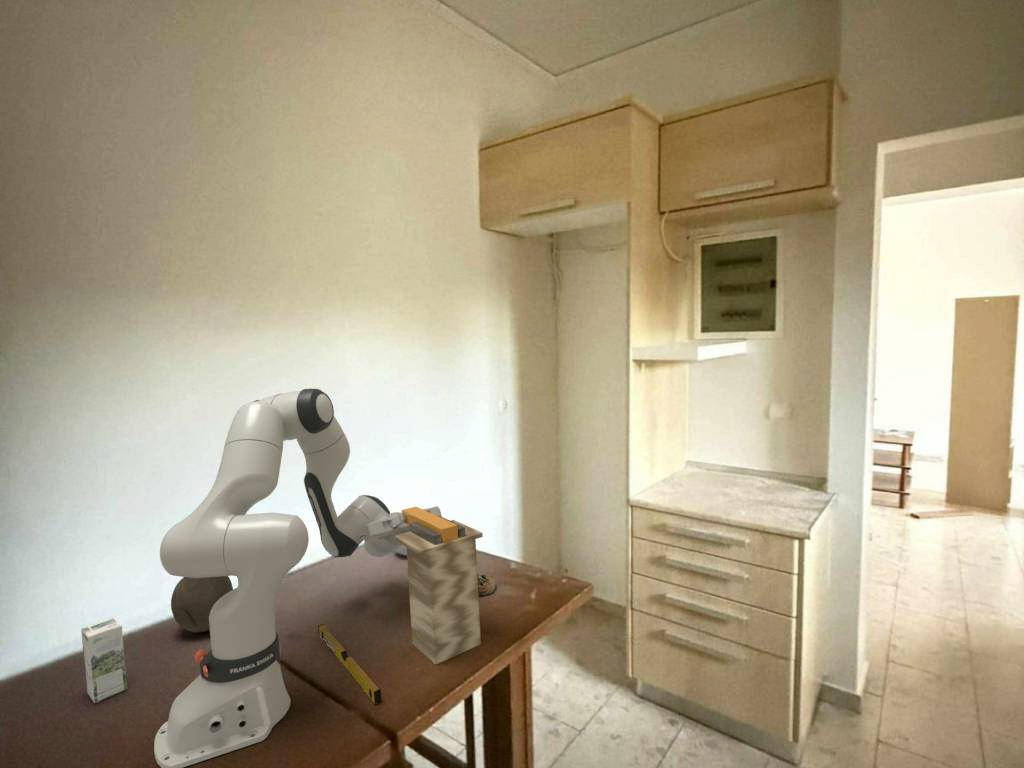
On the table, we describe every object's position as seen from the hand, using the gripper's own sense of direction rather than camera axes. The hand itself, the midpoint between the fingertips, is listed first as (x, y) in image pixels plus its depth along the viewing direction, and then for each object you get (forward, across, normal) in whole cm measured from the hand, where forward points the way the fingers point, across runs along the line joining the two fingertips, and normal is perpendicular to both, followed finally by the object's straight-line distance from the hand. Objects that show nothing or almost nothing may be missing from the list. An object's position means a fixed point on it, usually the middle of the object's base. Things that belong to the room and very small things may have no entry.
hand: (414, 514), depth 131 cm
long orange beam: (+5, 0, +5) cm, 7 cm away
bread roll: (-20, +21, +22) cm, 36 cm away
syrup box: (-31, -63, +15) cm, 72 cm away
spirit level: (-10, -21, +27) cm, 36 cm away
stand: (-4, 0, +30) cm, 30 cm away
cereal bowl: (-52, +21, +3) cm, 56 cm away
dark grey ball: (-45, -43, +7) cm, 63 cm away
